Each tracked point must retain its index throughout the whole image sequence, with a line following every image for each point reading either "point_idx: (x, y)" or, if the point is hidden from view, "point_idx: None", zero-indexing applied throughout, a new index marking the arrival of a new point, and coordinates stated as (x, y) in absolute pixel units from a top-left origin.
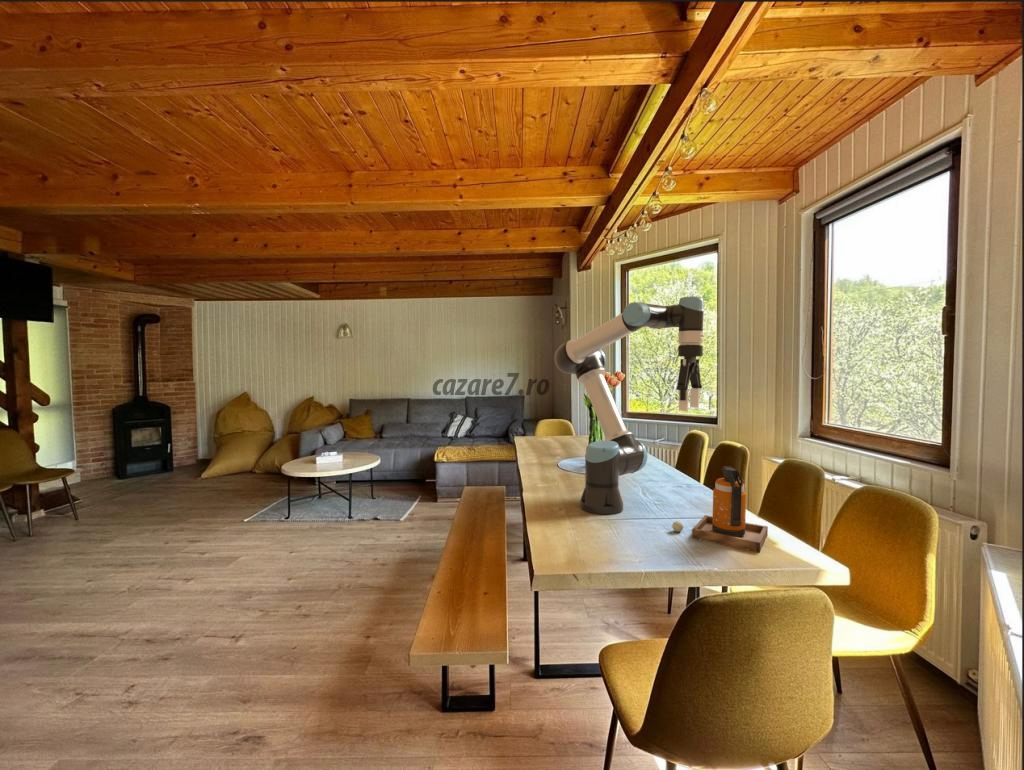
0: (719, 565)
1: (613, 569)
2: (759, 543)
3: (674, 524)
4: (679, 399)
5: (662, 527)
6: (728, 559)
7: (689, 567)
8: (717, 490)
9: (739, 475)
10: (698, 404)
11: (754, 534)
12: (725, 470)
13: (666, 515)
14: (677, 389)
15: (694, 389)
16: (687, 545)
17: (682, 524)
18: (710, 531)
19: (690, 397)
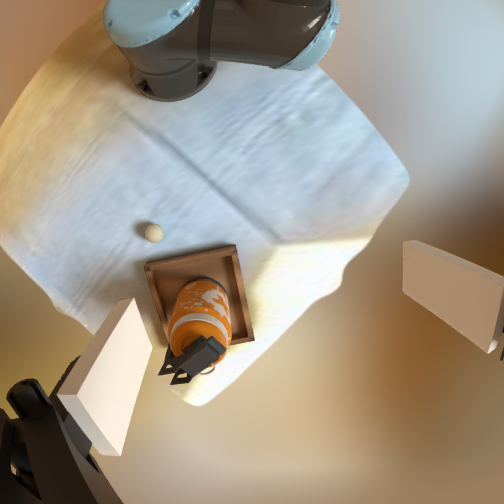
0: (95, 326)
1: (4, 244)
2: None
3: (145, 231)
4: (92, 345)
5: (155, 202)
6: None
7: (63, 303)
8: (174, 323)
9: (180, 381)
10: (416, 299)
11: None
12: (195, 352)
13: (225, 171)
14: (25, 392)
15: (489, 319)
16: (115, 271)
17: (156, 241)
18: (187, 276)
19: (447, 262)
